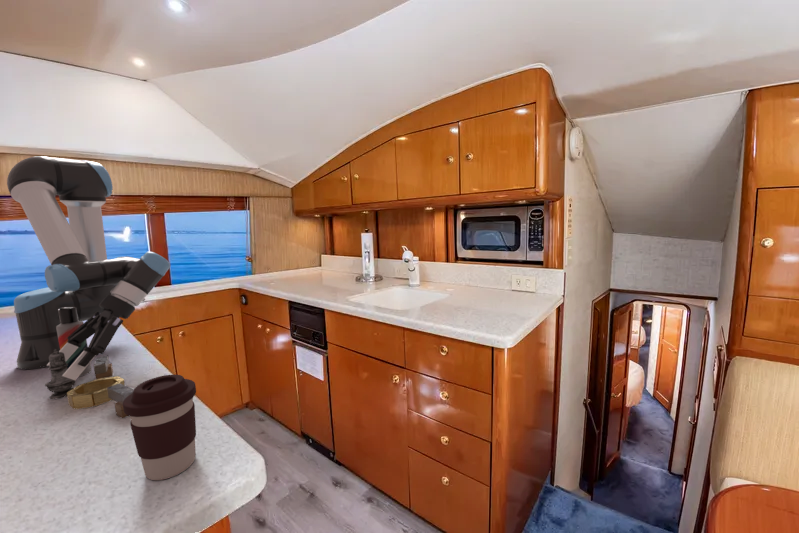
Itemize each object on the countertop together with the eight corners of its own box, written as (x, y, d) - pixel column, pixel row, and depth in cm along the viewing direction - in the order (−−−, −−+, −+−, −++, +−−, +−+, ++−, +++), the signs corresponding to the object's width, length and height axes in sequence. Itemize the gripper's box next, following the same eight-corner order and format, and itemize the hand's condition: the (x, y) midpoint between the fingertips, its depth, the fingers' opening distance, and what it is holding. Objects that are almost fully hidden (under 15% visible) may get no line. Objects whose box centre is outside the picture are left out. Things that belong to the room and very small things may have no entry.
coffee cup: (217, 452, 62) (207, 373, 60) (164, 494, 53) (150, 401, 51) (177, 443, 65) (166, 367, 63) (120, 481, 56) (105, 393, 54)
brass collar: (65, 401, 84) (62, 389, 83) (115, 384, 92) (114, 373, 92) (77, 412, 78) (75, 400, 78) (130, 393, 86) (128, 382, 86)
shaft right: (107, 410, 79) (103, 388, 78) (126, 402, 82) (122, 382, 81) (123, 419, 75) (120, 396, 74) (142, 410, 78) (139, 389, 77)
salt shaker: (59, 400, 84) (50, 353, 83) (40, 399, 86) (31, 352, 84) (85, 388, 90) (77, 344, 89) (67, 387, 91) (59, 344, 90)
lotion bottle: (60, 377, 99) (48, 308, 96) (85, 368, 104) (73, 304, 101) (72, 379, 96) (59, 309, 94) (96, 371, 102) (85, 304, 99)
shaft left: (111, 381, 94) (108, 363, 93) (93, 385, 92) (90, 366, 91) (113, 371, 101) (110, 354, 100) (97, 375, 99) (94, 358, 98)
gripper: (154, 312, 93) (92, 389, 82) (118, 303, 106) (62, 369, 96) (127, 296, 88) (58, 376, 77) (93, 290, 101) (31, 357, 91)
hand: (60, 372), depth 87 cm, fingers open, 13 cm apart
